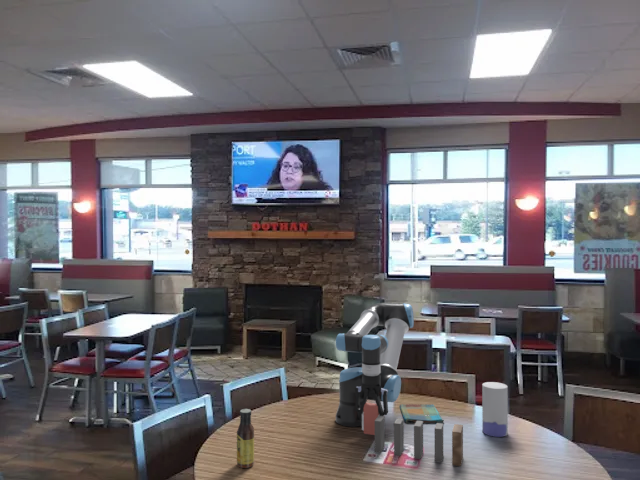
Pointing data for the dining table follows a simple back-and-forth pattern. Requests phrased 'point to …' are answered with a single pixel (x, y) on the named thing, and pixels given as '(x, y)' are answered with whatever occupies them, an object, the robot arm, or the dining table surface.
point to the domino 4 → (439, 442)
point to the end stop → (457, 445)
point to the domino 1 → (379, 434)
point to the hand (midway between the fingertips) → (371, 429)
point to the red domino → (370, 418)
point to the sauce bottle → (245, 440)
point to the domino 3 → (418, 439)
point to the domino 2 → (398, 436)
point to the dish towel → (420, 413)
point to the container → (495, 409)
